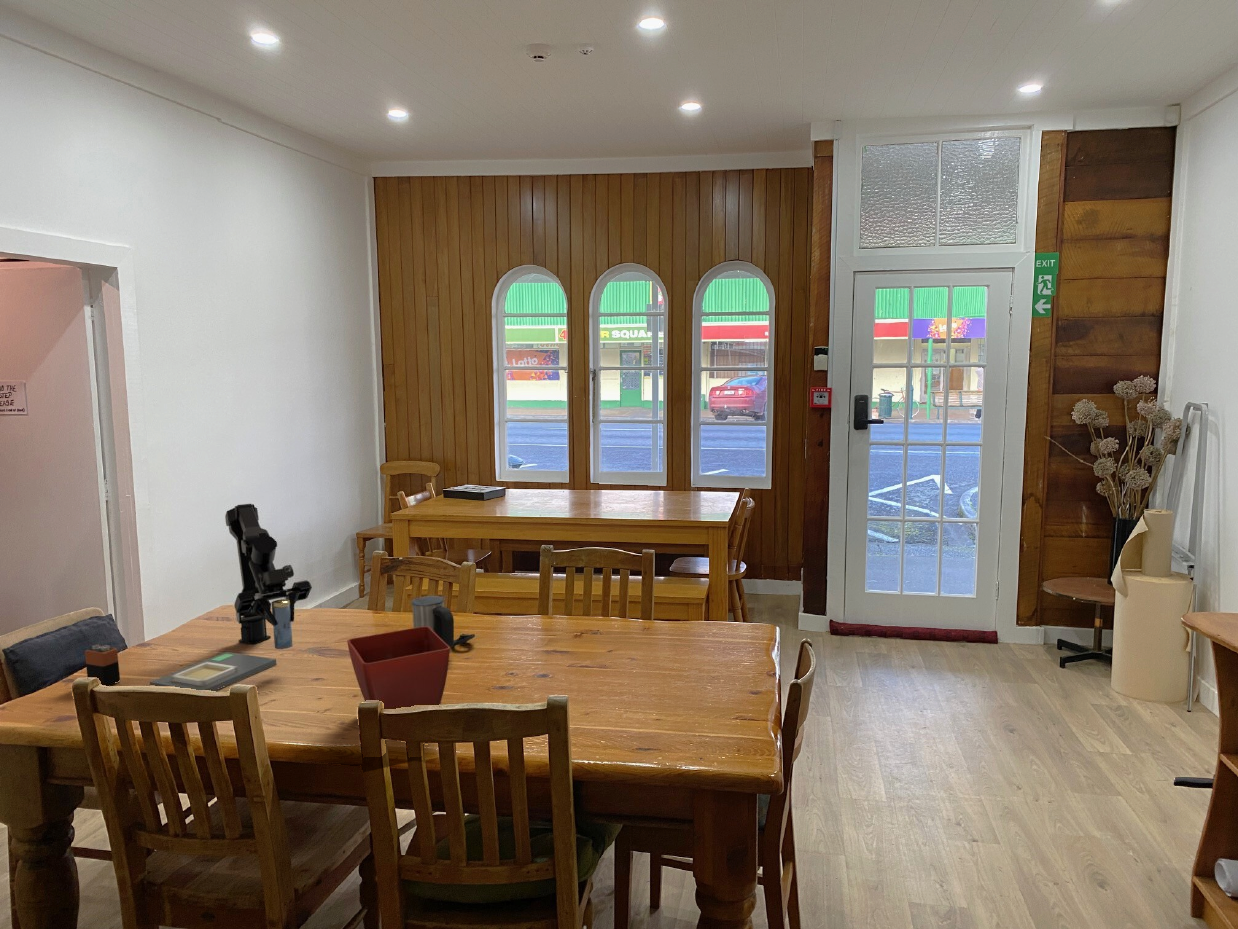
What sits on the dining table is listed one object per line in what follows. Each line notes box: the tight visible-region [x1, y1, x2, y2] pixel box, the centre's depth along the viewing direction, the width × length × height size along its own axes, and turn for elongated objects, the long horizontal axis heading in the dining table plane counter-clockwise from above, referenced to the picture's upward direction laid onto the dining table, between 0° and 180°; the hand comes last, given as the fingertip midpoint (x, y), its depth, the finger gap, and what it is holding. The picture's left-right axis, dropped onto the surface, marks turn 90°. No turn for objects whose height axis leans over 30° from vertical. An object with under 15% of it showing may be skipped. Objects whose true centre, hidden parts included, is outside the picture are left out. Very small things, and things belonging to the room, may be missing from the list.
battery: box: [84, 644, 121, 687], centre depth 222 cm, size 4×7×10 cm, turn 67°
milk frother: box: [410, 595, 476, 649], centre depth 242 cm, size 14×16×15 cm
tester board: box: [149, 651, 277, 692], centre depth 226 cm, size 24×18×3 cm
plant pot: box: [346, 626, 451, 709], centre depth 197 cm, size 19×19×17 cm
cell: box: [271, 598, 293, 650], centre depth 227 cm, size 4×4×12 cm
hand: (283, 623), depth 226 cm, fingers closed on cell, 4 cm apart
